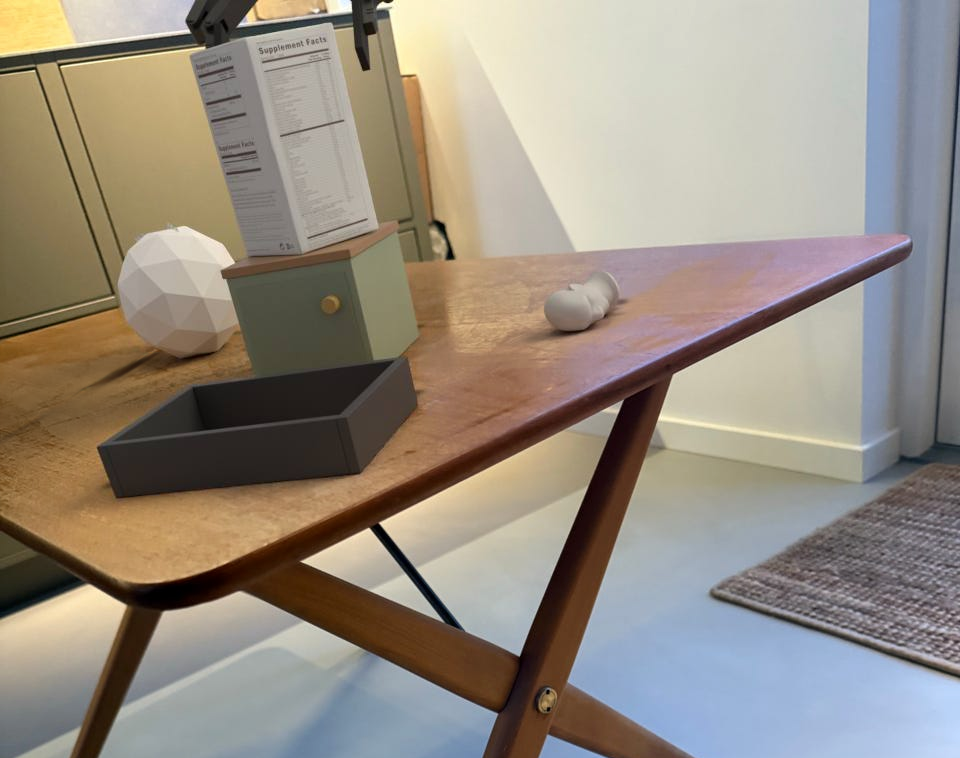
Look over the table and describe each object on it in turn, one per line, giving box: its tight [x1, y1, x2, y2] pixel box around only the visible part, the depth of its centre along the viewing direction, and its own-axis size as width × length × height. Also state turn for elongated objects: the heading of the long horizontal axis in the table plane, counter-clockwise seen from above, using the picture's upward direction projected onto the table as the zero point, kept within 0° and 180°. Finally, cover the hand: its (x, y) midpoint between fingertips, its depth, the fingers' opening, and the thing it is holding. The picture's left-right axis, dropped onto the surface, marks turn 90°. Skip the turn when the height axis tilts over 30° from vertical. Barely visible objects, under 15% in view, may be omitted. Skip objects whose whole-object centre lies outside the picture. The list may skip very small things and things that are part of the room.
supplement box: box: [189, 22, 379, 257], centre depth 91 cm, size 10×9×17 cm
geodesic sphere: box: [116, 222, 240, 360], centre depth 116 cm, size 15×14×14 cm
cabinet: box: [221, 219, 420, 377], centre depth 97 cm, size 12×15×11 cm
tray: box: [96, 355, 419, 498], centre depth 78 cm, size 20×15×4 cm
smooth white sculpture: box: [543, 269, 621, 332], centre depth 95 cm, size 4×8×5 cm
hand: (293, 74), depth 97 cm, fingers open, 13 cm apart
